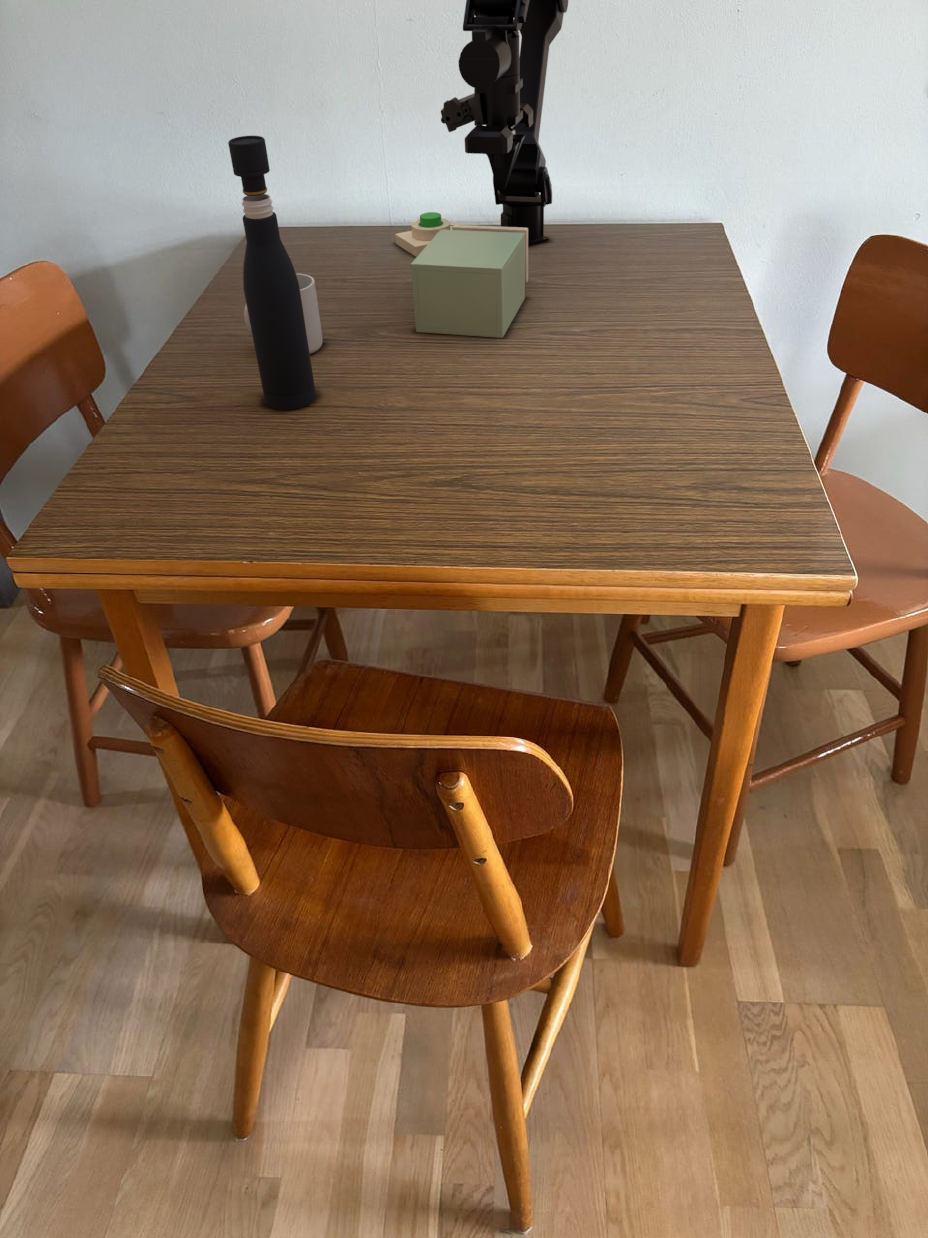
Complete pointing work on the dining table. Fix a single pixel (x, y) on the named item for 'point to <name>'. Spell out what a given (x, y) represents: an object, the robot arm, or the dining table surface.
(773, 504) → the dining table surface
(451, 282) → the sage green box
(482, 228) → the drawer
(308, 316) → the cup
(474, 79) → the robot arm
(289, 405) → the black insulated water bottle
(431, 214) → the button
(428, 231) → the control block
